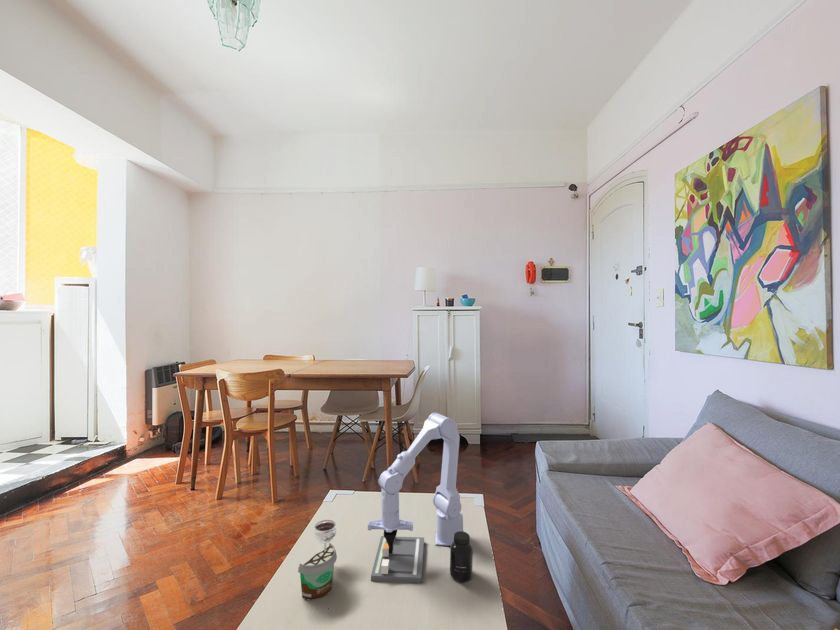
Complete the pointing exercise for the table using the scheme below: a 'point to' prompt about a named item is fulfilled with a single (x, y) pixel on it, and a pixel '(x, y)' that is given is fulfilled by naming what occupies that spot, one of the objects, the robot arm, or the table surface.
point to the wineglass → (325, 531)
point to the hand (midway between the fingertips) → (390, 551)
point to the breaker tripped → (385, 550)
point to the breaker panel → (401, 560)
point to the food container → (318, 574)
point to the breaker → (385, 566)
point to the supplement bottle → (461, 557)
